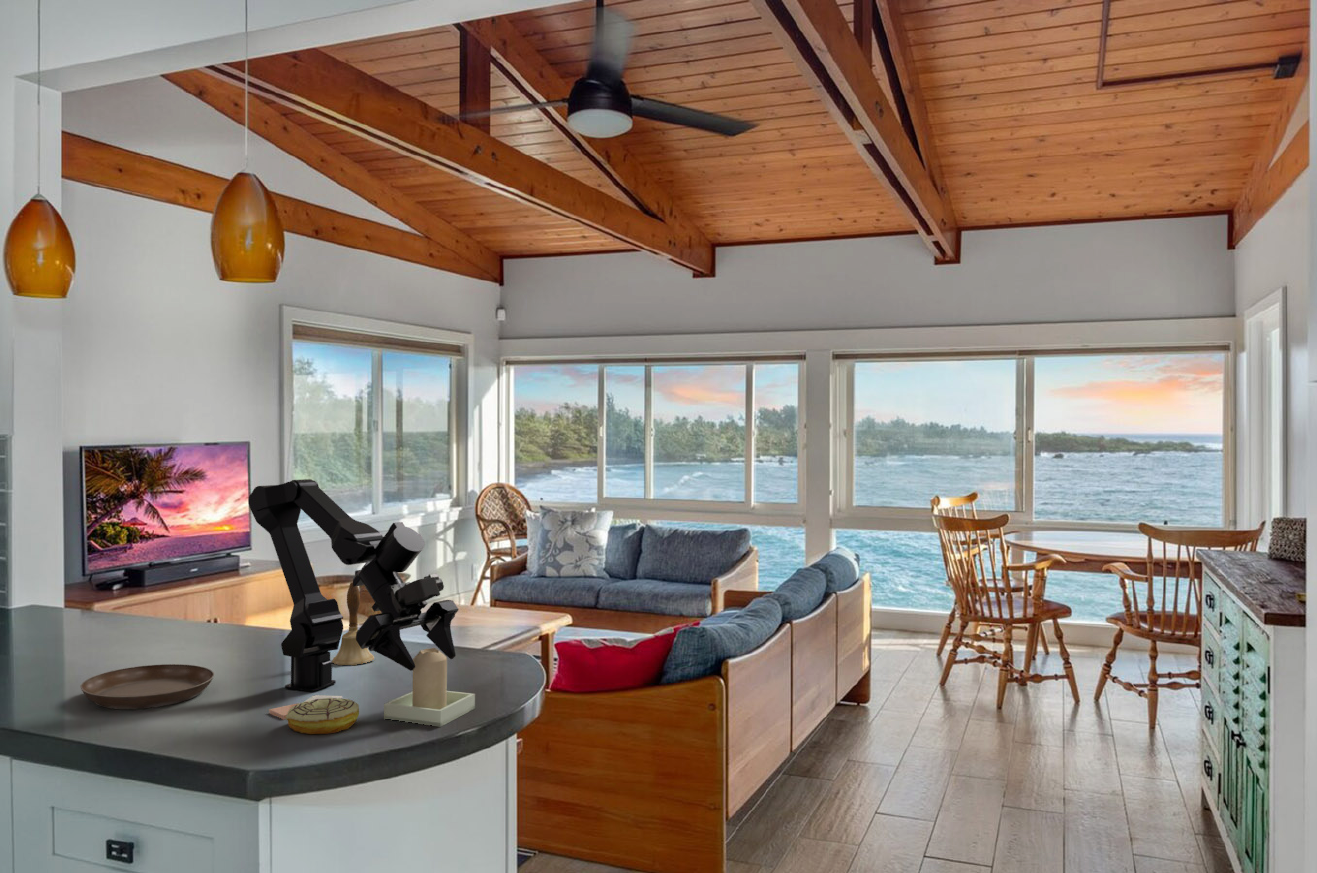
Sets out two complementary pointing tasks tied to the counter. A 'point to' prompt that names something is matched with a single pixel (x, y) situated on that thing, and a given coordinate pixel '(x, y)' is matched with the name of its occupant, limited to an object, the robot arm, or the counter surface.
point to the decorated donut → (323, 715)
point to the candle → (430, 679)
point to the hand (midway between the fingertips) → (434, 663)
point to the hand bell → (352, 635)
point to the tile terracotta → (281, 711)
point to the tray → (408, 713)
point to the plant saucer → (147, 686)
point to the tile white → (321, 697)
